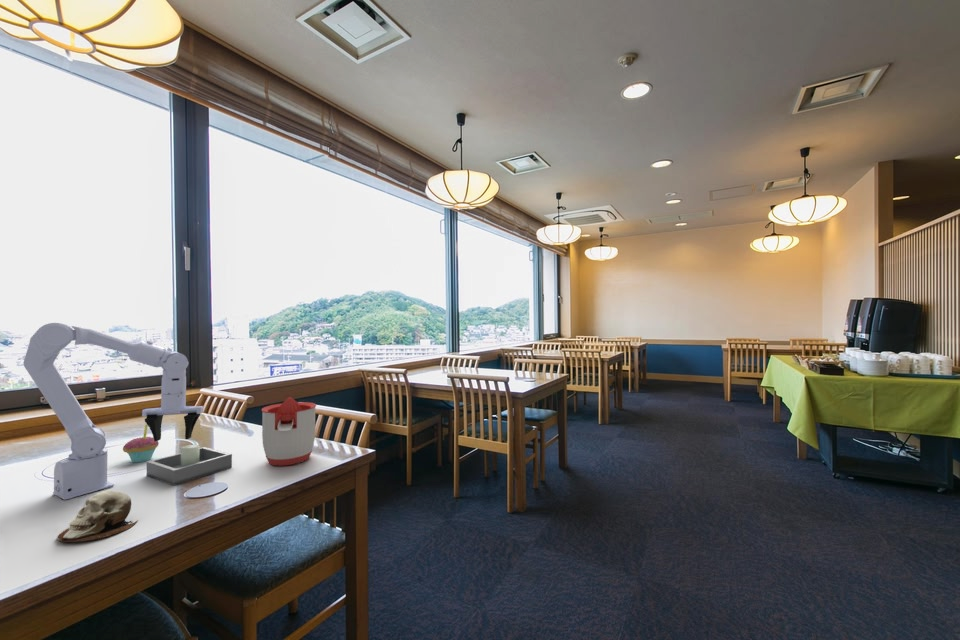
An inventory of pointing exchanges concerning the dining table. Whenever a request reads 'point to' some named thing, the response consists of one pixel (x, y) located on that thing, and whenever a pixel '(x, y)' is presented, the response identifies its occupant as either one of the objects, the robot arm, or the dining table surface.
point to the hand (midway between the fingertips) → (173, 439)
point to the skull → (99, 517)
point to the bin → (175, 474)
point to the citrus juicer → (288, 431)
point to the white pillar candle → (190, 455)
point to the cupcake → (141, 448)
